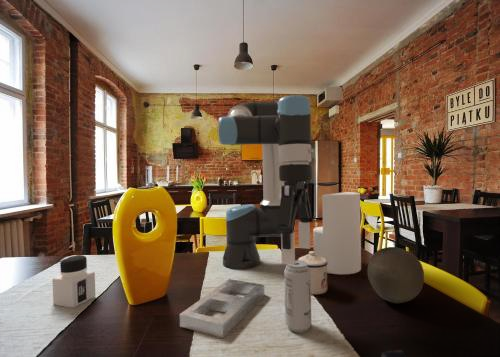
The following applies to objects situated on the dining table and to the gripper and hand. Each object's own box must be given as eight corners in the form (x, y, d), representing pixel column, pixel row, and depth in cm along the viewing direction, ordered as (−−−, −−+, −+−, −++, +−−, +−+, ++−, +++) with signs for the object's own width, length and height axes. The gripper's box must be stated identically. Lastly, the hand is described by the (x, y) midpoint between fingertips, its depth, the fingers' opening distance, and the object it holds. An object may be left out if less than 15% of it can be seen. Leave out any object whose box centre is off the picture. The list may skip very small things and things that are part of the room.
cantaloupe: (360, 291, 84) (359, 242, 84) (408, 291, 84) (408, 241, 83) (379, 315, 70) (378, 256, 70) (437, 316, 69) (436, 255, 69)
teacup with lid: (328, 296, 82) (327, 256, 81) (297, 294, 84) (296, 255, 84) (327, 281, 93) (326, 246, 93) (299, 279, 95) (298, 245, 95)
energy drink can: (312, 335, 63) (310, 268, 62) (285, 333, 64) (283, 267, 63) (310, 320, 69) (309, 259, 68) (285, 319, 70) (284, 259, 69)
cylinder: (369, 266, 107) (368, 192, 106) (344, 278, 95) (343, 196, 95) (330, 256, 120) (329, 191, 119) (304, 266, 109) (303, 193, 108)
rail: (229, 288, 89) (229, 279, 89) (264, 294, 84) (264, 284, 84) (179, 326, 67) (179, 314, 67) (223, 338, 62) (222, 324, 62)
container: (96, 296, 85) (94, 254, 85) (72, 308, 78) (71, 262, 78) (77, 293, 88) (75, 252, 87) (52, 305, 80) (51, 259, 80)
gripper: (295, 161, 52) (298, 274, 53) (322, 164, 75) (323, 244, 75) (259, 162, 56) (261, 269, 56) (294, 166, 78) (296, 242, 78)
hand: (297, 255), depth 65 cm, fingers open, 13 cm apart
